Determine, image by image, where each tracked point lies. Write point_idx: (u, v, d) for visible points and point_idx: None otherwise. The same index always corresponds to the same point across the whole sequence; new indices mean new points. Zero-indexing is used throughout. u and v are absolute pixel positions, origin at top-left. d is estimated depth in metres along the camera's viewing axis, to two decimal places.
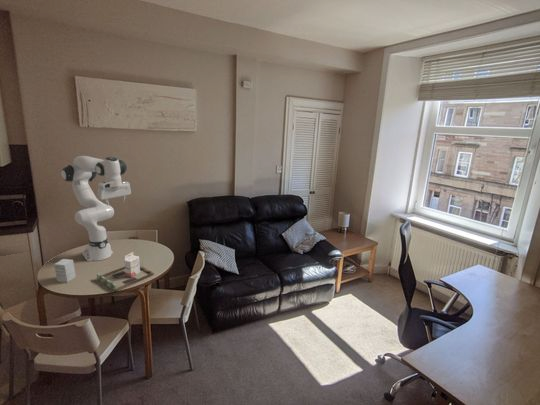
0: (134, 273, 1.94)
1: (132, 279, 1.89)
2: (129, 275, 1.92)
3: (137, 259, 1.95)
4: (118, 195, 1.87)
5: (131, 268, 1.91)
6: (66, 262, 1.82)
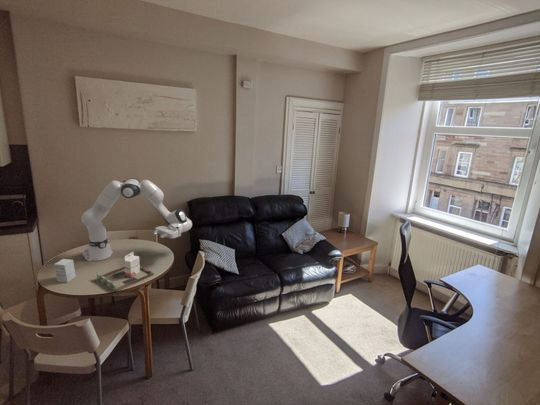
0: (134, 273, 1.94)
1: (132, 279, 1.89)
2: (129, 275, 1.92)
3: (137, 259, 1.95)
4: None
5: (131, 268, 1.91)
6: (66, 262, 1.82)
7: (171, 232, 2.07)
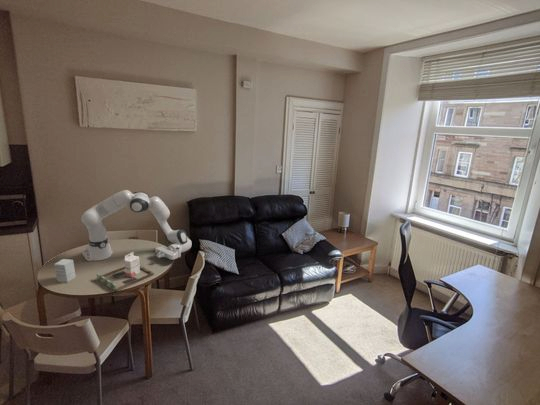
0: (134, 273, 1.94)
1: (132, 279, 1.89)
2: (129, 275, 1.92)
3: (137, 259, 1.95)
4: None
5: (131, 268, 1.91)
6: (66, 262, 1.82)
7: (171, 253, 2.11)
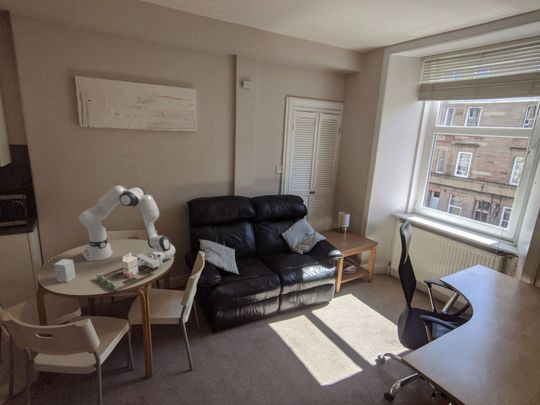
0: (132, 274, 1.93)
1: (132, 279, 1.89)
2: (127, 276, 1.91)
3: (135, 260, 1.94)
4: None
5: (129, 269, 1.90)
6: (66, 262, 1.82)
7: (152, 261, 1.98)
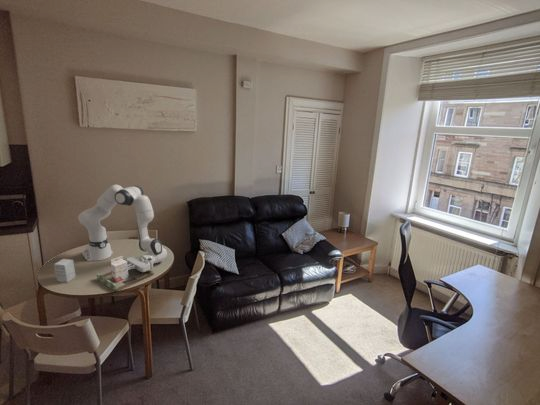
0: (120, 278, 1.87)
1: (132, 279, 1.89)
2: (114, 280, 1.86)
3: (124, 264, 1.88)
4: None
5: (116, 273, 1.84)
6: (66, 262, 1.82)
7: (142, 265, 1.92)
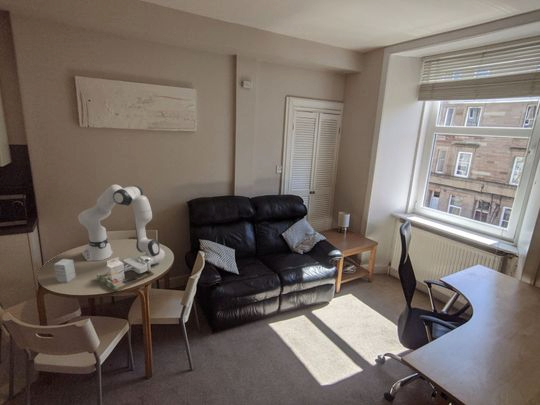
0: (116, 280, 1.85)
1: (132, 279, 1.89)
2: None
3: (120, 265, 1.85)
4: None
5: (112, 274, 1.82)
6: (66, 262, 1.82)
7: (139, 266, 1.91)
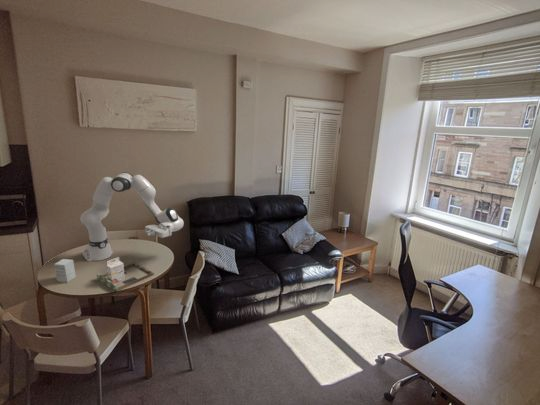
0: (116, 280, 1.85)
1: (132, 279, 1.89)
2: None
3: (120, 265, 1.85)
4: None
5: (112, 274, 1.82)
6: (66, 262, 1.82)
7: (161, 231, 2.00)
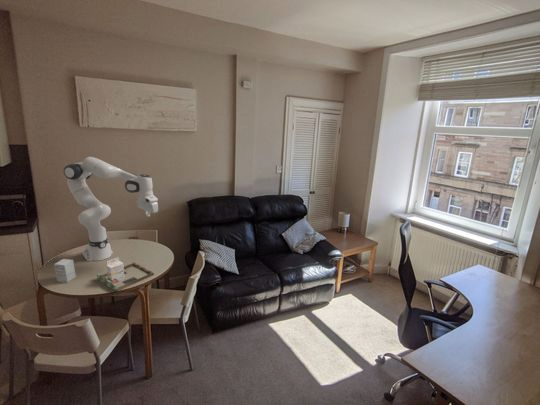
0: (116, 280, 1.85)
1: (132, 279, 1.89)
2: None
3: (120, 265, 1.85)
4: None
5: (112, 274, 1.82)
6: (66, 262, 1.82)
7: (151, 209, 1.99)
